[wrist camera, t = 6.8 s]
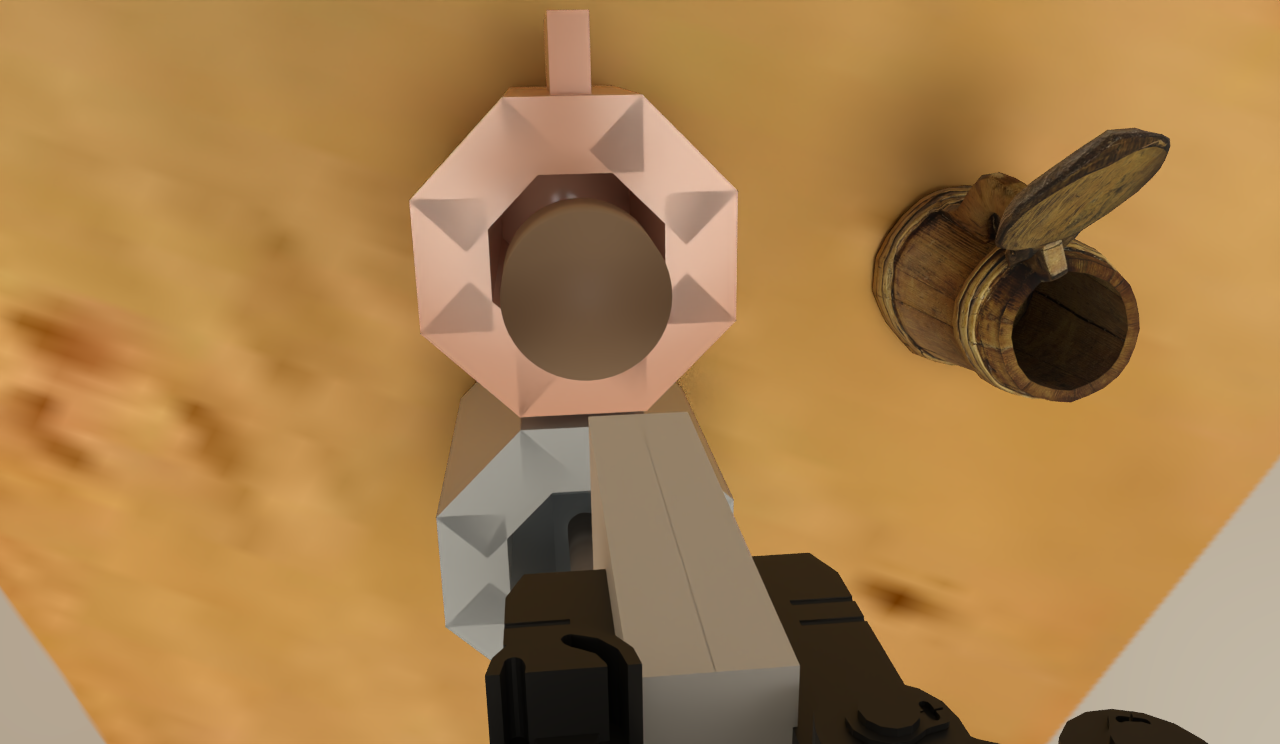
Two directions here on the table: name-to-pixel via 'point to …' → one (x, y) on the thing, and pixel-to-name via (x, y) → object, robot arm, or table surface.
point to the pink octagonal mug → (557, 170)
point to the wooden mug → (1021, 273)
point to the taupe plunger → (584, 290)
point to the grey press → (515, 504)
